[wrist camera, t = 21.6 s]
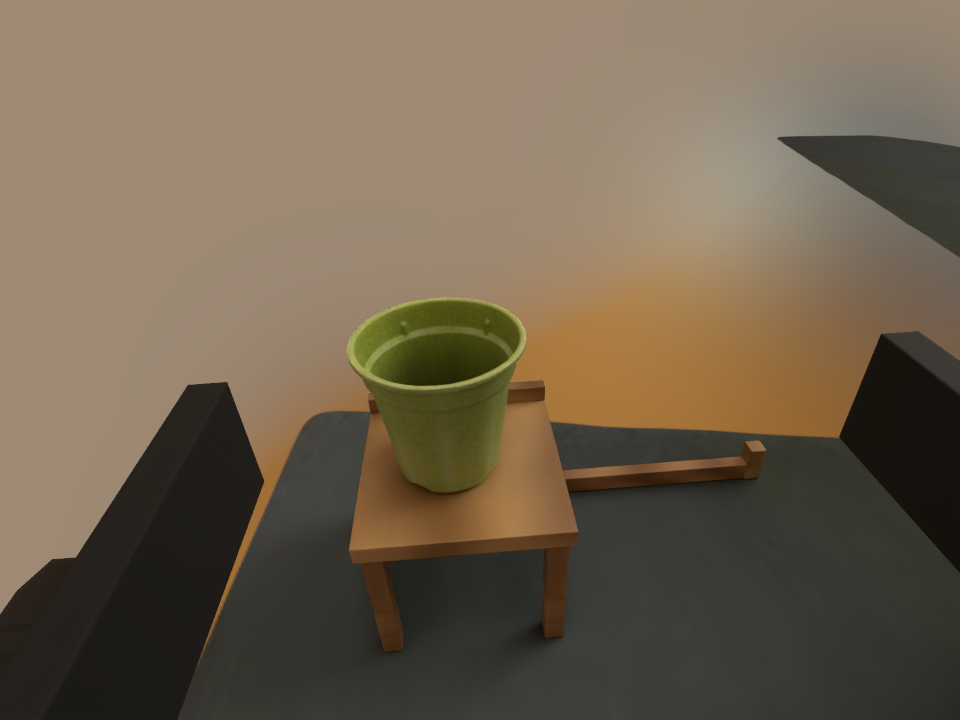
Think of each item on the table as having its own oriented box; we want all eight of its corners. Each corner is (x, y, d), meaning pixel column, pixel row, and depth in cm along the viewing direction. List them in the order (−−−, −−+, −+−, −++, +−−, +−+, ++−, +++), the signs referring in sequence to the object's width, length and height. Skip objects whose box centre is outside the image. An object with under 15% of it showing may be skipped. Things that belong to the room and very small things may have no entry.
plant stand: (751, 467, 46) (786, 353, 40) (847, 614, 35) (917, 488, 29) (391, 495, 45) (370, 384, 39) (377, 654, 34) (344, 535, 28)
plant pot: (363, 427, 37) (339, 312, 32) (498, 397, 39) (494, 285, 34) (383, 536, 29) (356, 406, 24) (550, 492, 31) (554, 365, 26)
